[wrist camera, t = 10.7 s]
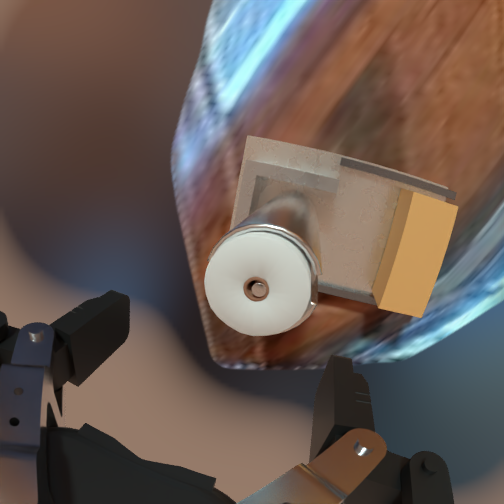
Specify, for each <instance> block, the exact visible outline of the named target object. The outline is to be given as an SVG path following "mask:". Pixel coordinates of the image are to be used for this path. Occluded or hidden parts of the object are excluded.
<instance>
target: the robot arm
mask: <svg viewBox="0 0 504 504" xmlns="http://www.w3.org/2000/svg"><path fill="white" fill-rule="evenodd" d="M129 317H130V299H129V297H128V296H127V295H124V294H122V293H119V292H116V291H114V290H110V291H108V292H107V293H106V294H104V295H102V296H101V297H97V298H93V299H90V300H87V301H85V302H83V303H82V304H81V305H79V306H78V307H76V308H74V309H73V310H72V311H70V312H68V313H67V314H65V315H64V316H62V317H61V318H59V319H57V320H56V321H55V322H53V323H52V324H50V325H48V324H45V323H41V322H34V323H30V324H27V325H25V326H23V327H22V328H21V329H18V328H15V327H11V326H8V322H7V317H6V315H5V314H4V313H3V312H1V311H0V504H454V500H453V493H452V488H451V482H450V477H449V472H448V468H447V465H446V463H445V461H444V460H443V459H442V458H441V457H440V456H439V455H437V454H435V453H433V452H429V451H421V452H418V453H416V454H415V455H413V457H412V458H411V459H408V458H405V457H402V456H399V455H396V454H394V453H391V452H389V451H388V450H387V447H386V443H385V442H384V440H383V439H382V438H381V437H380V436H379V435H378V434H377V433H375V428H374V421H373V414H372V406H371V404H370V403H371V399H370V396H369V394H370V393H369V386H368V383H367V382H366V380H365V379H364V377H363V376H362V374H358V373H353V365H352V359H351V358H346V357H341V356H337V355H331V357H330V359H329V361H328V363H327V366H326V368H325V371H324V374H323V376H322V378H321V381H320V383H319V386H318V388H317V392H316V396H315V401H314V414H313V427H312V439H311V448H310V459H309V464H307V465H304V464H302V463H301V464H299V465H297V466H295V467H294V468H292V469H291V470H289V471H288V472H286V473H285V474H283V475H282V476H281V477H279V478H277V479H276V480H274V481H273V482H271V483H270V484H268V485H267V486H265V487H263V488H262V489H261V490H258V491H257V492H255V493H254V494H252V495H250V496H249V497H247V498H245V499H243V500H242V501H240V502H238V503H236V502H235V501H233V500H232V499H231V498H230V497H228V496H227V495H226V494H224V493H223V492H221V491H219V490H218V489H216V488H214V486H215V482H216V478H214V477H210V476H207V475H204V474H201V473H198V472H195V471H192V470H189V469H186V468H183V467H181V466H174V465H169V464H163V463H157V462H152V461H147V460H143V459H141V458H139V457H138V456H136V455H135V454H134V453H132V452H131V451H130V450H128V449H127V448H126V447H125V446H123V445H122V444H121V443H120V442H118V441H117V440H116V439H115V438H113V437H111V436H109V435H107V434H105V433H103V432H101V431H100V430H98V429H96V428H94V427H92V426H90V425H89V424H87V423H85V424H84V425H83V426H82V427H81V428H80V430H78V429H73V428H66V426H65V387H64V384H65V383H66V382H67V381H69V382H71V383H72V384H74V385H76V386H79V385H80V384H82V382H84V381H85V380H86V379H87V378H88V377H89V376H90V375H91V374H92V373H93V372H94V371H95V370H96V369H97V368H98V367H99V366H100V365H101V364H102V363H103V362H104V361H105V360H106V359H107V358H108V357H109V356H111V355H112V353H114V352H115V351H116V350H117V349H118V348H119V347H120V346H121V345H122V344H123V343H124V342H125V340H126V339H127V337H128V334H129V328H130V326H129V325H130V324H129V323H130V322H129V321H130V318H129Z"/></svg>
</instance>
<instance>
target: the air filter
mask: <svg viewBox="0 0 504 504" xmlns="http://www.w3.org/2000/svg"><path fill="white" fill-rule="evenodd" d="M207 261H209V264H208V267H207V269H206V274H205V281H204V284H205V291H206V296H207V299H208V302H209V304H210V307H211V308H212V310H213V311H214V312H215V314H216V315H217V316H218V318H220V319H221V320H222V321H223V322H224V323H226V324H227V325H228V326H230V327H231V328H233V329H235V330H237V331H238V332H240V333H244V334H248V335H251V336H268V335H273V334H279V333H282V332H287V331H289V330H291V329H293V328H295V327H297V326H299V325H300V324H301V323H302V322H304V321H305V320H306V319H307V318H308V317H309V316H310V315H311V314H312V312H313V310H314V309H315V307H316V306H317V304H318V275H322V261H321V247H320V235H319V224H318V213H317V209H316V205H315V204H314V202H313V201H312V199H311V198H310V197H309V196H308V195H306V194H304V193H303V192H300V191H296V190H287V191H283V192H280V193H279V194H277V195H276V196H274V197H273V198H272V199H270V200H269V201H268V202H267V203H265V204H264V205H263V206H261V207H260V208H259V209H257V210H256V211H255V212H254V213H252V214H251V215H250V216H248V217H247V218H246V219H244V220H243V221H242V222H241V223H239V224H238V225H237V226H235V227H234V228H233V229H232V230H230V231H229V232H228V233H227V234H225V235H224V236H223V237H222V238H221V239H220V240H219V241H218V243H217V244H216V245H215V246H214V247H213V249H212V251H211V254H210V256H209V258H208V260H207Z"/></svg>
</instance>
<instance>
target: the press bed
mask: <svg viewBox="0 0 504 504" xmlns="http://www.w3.org/2000/svg"><path fill="white" fill-rule="evenodd" d="M401 188H403V189H406V190H410V191H413V192H416V193H419V194H422V195H425V196H429V197H432V198H435V199H437V200H440V201H443V202H445V200H446V197H447V198H450V199H453V200H455V197H456V192H453V191H450V190H448V187H445V186H442V185H439V184H437V183H434V182H431V181H428V180H425V179H422V178H419V177H416V176H413V175H410V174H407V173H403V172H400V171H397V170H394V169H390V168H387V167H383V166H380V165H377V164H373V163H369V162H366V161H362V160H358V159H355V158H351V157H347V156H343V155H339V154H335V153H331V152H327V151H323V150H318V149H314V148H309V147H305V146H300V145H296V144H291V143H286V142H281V141H276V140H271V139H265V138H260V137H254V136H248V135H247V140H246V146H245V151H244V156H243V161H242V166H241V172H240V177H239V182H238V188H237V193H236V199H235V204H234V210H233V215H232V221H231V226H230V230H232V229H233V228H234V227H235V226H237V225H238V224H239V223H241V222H242V221H243V220H244V219H246V218H247V217H248V216H250V215H251V214H252V213H254V212H255V211H256V210H257V209H259V208H260V207H261V206H263V205H264V204H265V203H267V202H268V201H269V200H270V199H272V198H273V197H274V196H276V195H277V194H279V193H280V192H283V191H287V190H296V191H300V192H303V193H304V194H306V195H308V196H309V197H310V198H311V199H312V201H313V202H314V204H315V205H316V209H317V213H318V224H319V235H320V247H321V261H322V275H318V292H322V293H326V294H330V295H334V296H339V297H343V298H347V299H351V300H356V301H360V302H364V303H368V304H373V305H377V303H376V300H375V298H374V295H373V293H372V288H373V285H374V282H375V279H376V276H377V273H378V270H379V267H380V264H381V260H382V257H383V254H384V251H385V247H386V244H387V240H388V237H389V233H390V230H391V226H392V222H393V219H394V215H395V211H396V207H397V203H398V199H399V195H400V191H401Z"/></svg>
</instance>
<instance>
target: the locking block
mask: <svg viewBox="0 0 504 504" xmlns="http://www.w3.org/2000/svg"><path fill="white" fill-rule="evenodd" d="M457 210H458V206H455V205H452V204H449V203H446V202H443V201H440V200H437V199H435V198H432V197H429V196H425V195H422V194H419V193H416V192H413V191H410V190H406V189H403V188H401V191H400V195H399V199H398V203H397V207H396V211H395V215H394V219H393V222H392V226H391V230H390V233H389V237H388V240H387V244H386V247H385V251H384V254H383V257H382V260H381V264H380V267H379V270H378V273H377V276H376V279H375V282H374V285H373V288H372V293H373V295H374V298H375V300H376V303H377V306H378V308H380V309H384V310H388V311H393V312H397V313H402V314H406V315H411V316H415V317H420V318H422V315H423V313H424V310H425V308H426V305H427V303H428V300H429V298H430V295H431V293H432V290H433V287H434V285H435V282H436V279H437V276H438V273H439V270H440V268H441V265H442V262H443V259H444V255H445V252H446V249H447V246H448V243H449V239H450V236H451V233H452V229H453V225H454V222H455V218H456V214H457Z"/></svg>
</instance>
